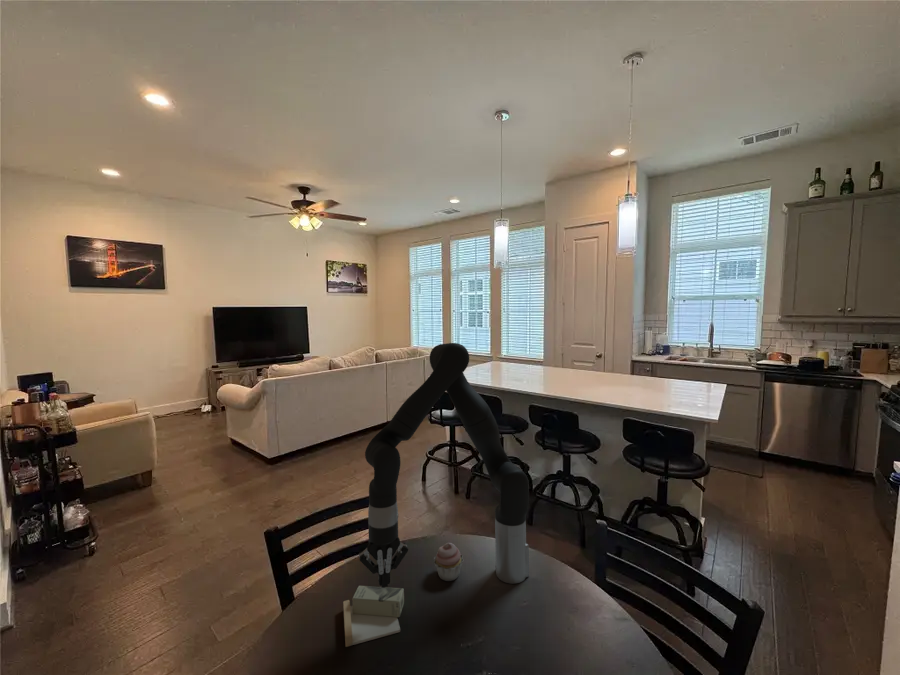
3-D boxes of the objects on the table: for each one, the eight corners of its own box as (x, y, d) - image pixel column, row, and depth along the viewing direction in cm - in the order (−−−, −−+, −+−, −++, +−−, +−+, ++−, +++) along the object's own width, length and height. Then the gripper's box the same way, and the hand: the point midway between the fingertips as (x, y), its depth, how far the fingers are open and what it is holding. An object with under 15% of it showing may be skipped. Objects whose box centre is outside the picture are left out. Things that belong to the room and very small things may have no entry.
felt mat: (392, 598, 103) (392, 589, 103) (400, 631, 91) (400, 622, 91) (343, 610, 99) (343, 601, 98) (345, 647, 87) (345, 636, 87)
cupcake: (430, 583, 108) (430, 550, 108) (436, 563, 118) (436, 533, 117) (462, 587, 107) (461, 553, 107) (465, 566, 116) (465, 535, 116)
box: (400, 601, 95) (351, 598, 96) (400, 618, 95) (351, 615, 96) (404, 587, 100) (358, 584, 101) (404, 602, 100) (358, 600, 101)
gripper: (405, 508, 100) (406, 570, 100) (355, 516, 96) (356, 581, 96) (411, 521, 93) (412, 589, 93) (358, 531, 89) (359, 601, 89)
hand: (384, 585), depth 95 cm, fingers closed
